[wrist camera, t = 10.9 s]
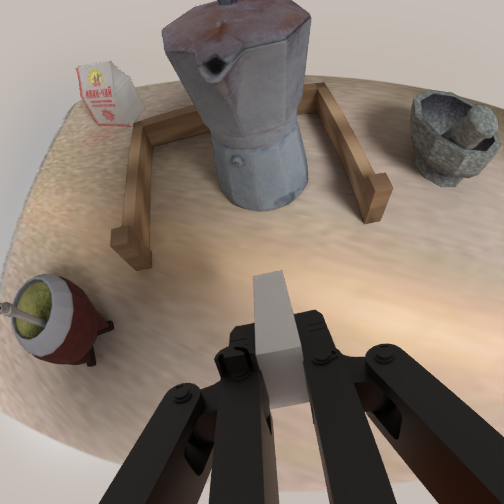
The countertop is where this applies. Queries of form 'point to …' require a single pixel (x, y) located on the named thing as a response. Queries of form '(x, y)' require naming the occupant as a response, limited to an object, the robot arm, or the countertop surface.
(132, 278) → the countertop surface
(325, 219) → the countertop surface
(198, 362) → the countertop surface
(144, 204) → the bay
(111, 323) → the mate gourd
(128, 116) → the white paper packet
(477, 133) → the mortar and pestle
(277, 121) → the moka pot
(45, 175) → the countertop surface
